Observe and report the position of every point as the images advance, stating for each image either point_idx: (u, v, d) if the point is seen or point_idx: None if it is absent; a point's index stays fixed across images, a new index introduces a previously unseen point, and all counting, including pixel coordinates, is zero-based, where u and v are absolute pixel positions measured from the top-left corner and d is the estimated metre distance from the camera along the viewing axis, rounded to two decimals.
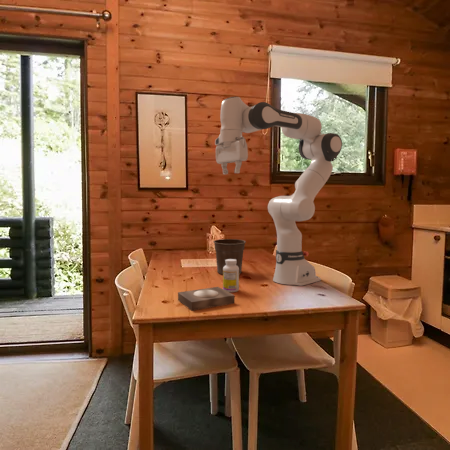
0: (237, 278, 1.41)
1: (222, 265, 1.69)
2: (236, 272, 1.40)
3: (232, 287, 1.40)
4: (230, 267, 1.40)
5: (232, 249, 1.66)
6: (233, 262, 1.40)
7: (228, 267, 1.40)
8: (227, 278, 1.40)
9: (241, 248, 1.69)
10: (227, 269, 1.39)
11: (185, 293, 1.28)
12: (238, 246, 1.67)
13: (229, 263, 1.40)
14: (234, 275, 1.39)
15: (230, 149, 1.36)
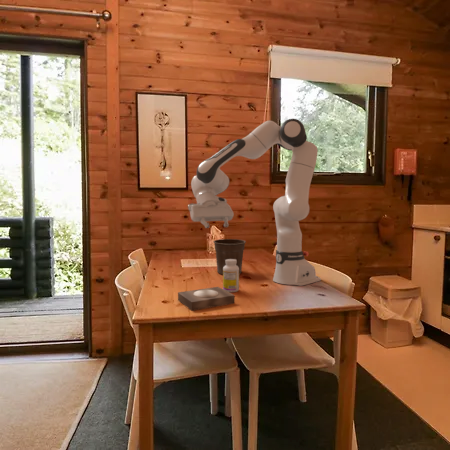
0: (237, 278, 1.41)
1: (222, 265, 1.69)
2: (236, 272, 1.40)
3: (232, 287, 1.40)
4: (230, 267, 1.40)
5: (232, 249, 1.66)
6: (233, 262, 1.40)
7: (228, 267, 1.40)
8: (227, 278, 1.40)
9: (241, 248, 1.69)
10: (227, 269, 1.39)
11: (185, 293, 1.28)
12: (238, 246, 1.67)
13: (229, 263, 1.40)
14: (234, 275, 1.39)
15: None
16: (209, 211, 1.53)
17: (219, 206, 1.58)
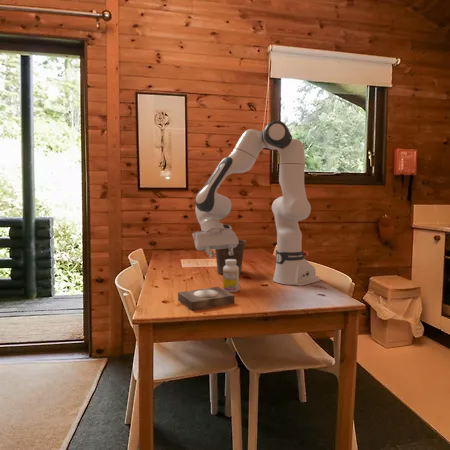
0: (237, 278, 1.41)
1: (222, 265, 1.69)
2: (236, 272, 1.40)
3: (232, 287, 1.40)
4: (230, 267, 1.40)
5: None
6: (233, 262, 1.40)
7: (228, 267, 1.40)
8: (227, 278, 1.40)
9: (241, 248, 1.69)
10: (227, 269, 1.39)
11: (185, 293, 1.28)
12: (238, 246, 1.67)
13: (229, 263, 1.40)
14: (234, 275, 1.39)
15: None
16: (214, 240, 1.51)
17: (224, 233, 1.55)
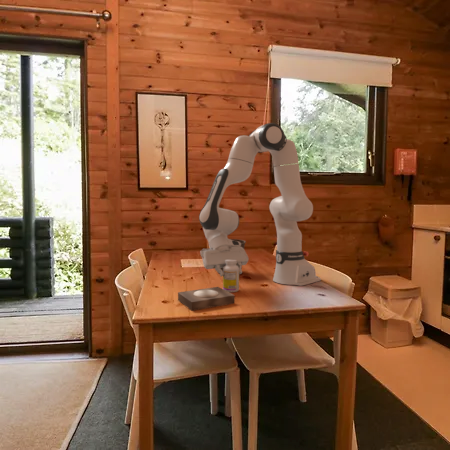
0: (237, 278, 1.41)
1: None
2: (236, 272, 1.40)
3: (232, 287, 1.40)
4: (230, 267, 1.40)
5: None
6: (233, 262, 1.40)
7: (228, 267, 1.40)
8: (227, 278, 1.40)
9: None
10: (227, 269, 1.39)
11: (185, 293, 1.28)
12: None
13: (229, 263, 1.40)
14: (234, 275, 1.39)
15: None
16: (223, 257, 1.44)
17: (233, 250, 1.48)
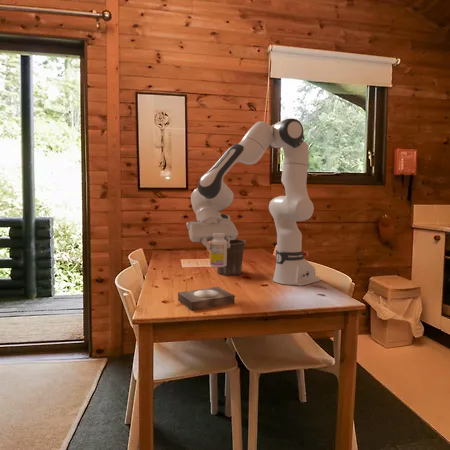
0: (225, 252, 1.33)
1: None
2: (224, 246, 1.32)
3: (219, 261, 1.32)
4: (217, 240, 1.32)
5: (232, 249, 1.66)
6: (221, 235, 1.32)
7: (215, 240, 1.32)
8: (214, 252, 1.32)
9: (241, 248, 1.69)
10: (214, 242, 1.31)
11: (185, 293, 1.28)
12: (238, 246, 1.67)
13: (217, 236, 1.32)
14: (221, 249, 1.31)
15: None
16: (210, 230, 1.36)
17: (222, 224, 1.40)
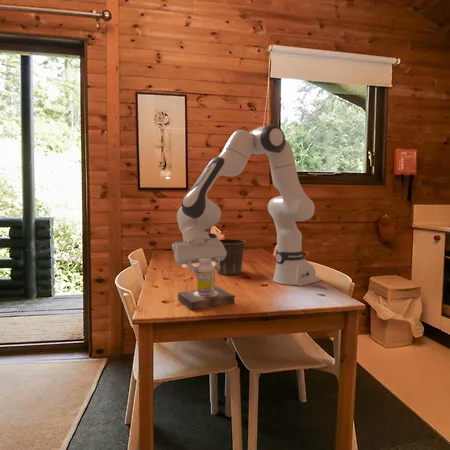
0: (212, 279, 1.26)
1: (222, 265, 1.69)
2: (211, 272, 1.25)
3: (207, 289, 1.25)
4: (204, 267, 1.25)
5: (232, 249, 1.66)
6: (207, 261, 1.25)
7: (202, 267, 1.25)
8: (200, 279, 1.25)
9: (241, 248, 1.69)
10: (200, 269, 1.24)
11: (185, 293, 1.28)
12: (238, 246, 1.67)
13: (203, 262, 1.25)
14: (208, 276, 1.24)
15: None
16: (197, 252, 1.29)
17: (209, 244, 1.33)
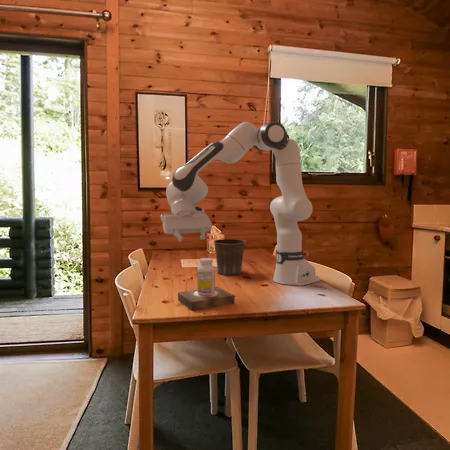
0: (213, 279, 1.26)
1: (222, 265, 1.69)
2: (211, 273, 1.25)
3: (207, 289, 1.25)
4: (205, 267, 1.24)
5: (232, 249, 1.66)
6: (208, 261, 1.25)
7: (202, 267, 1.25)
8: (201, 279, 1.25)
9: (241, 248, 1.69)
10: (201, 269, 1.24)
11: (185, 293, 1.28)
12: (238, 246, 1.67)
13: (204, 262, 1.25)
14: (209, 276, 1.24)
15: None
16: (184, 222, 1.39)
17: (196, 216, 1.43)
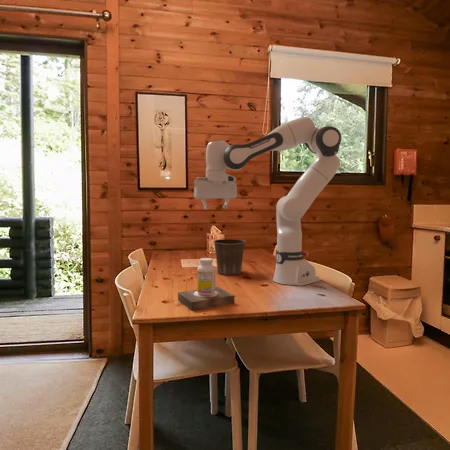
0: (213, 279, 1.26)
1: (222, 265, 1.69)
2: (212, 273, 1.25)
3: (207, 289, 1.25)
4: (205, 267, 1.24)
5: (232, 249, 1.66)
6: (208, 261, 1.25)
7: (203, 267, 1.25)
8: (201, 279, 1.25)
9: (241, 248, 1.69)
10: (201, 269, 1.24)
11: (185, 293, 1.28)
12: (238, 246, 1.67)
13: (204, 262, 1.24)
14: (209, 276, 1.24)
15: None
16: (213, 192, 1.51)
17: (225, 185, 1.54)
